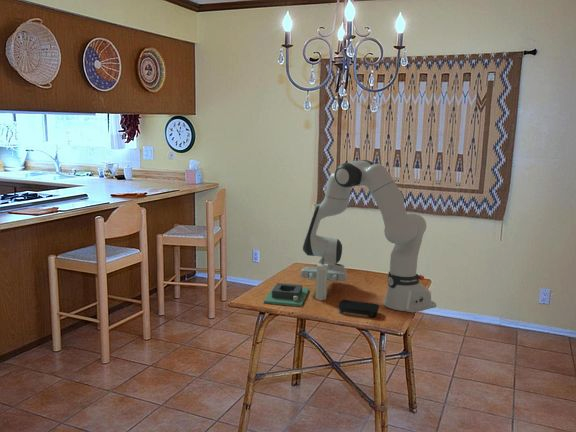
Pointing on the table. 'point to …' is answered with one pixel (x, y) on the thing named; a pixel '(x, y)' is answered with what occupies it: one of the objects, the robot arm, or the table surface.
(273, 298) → the board
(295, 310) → the table surface
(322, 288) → the plug
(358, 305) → the black scrub brush
